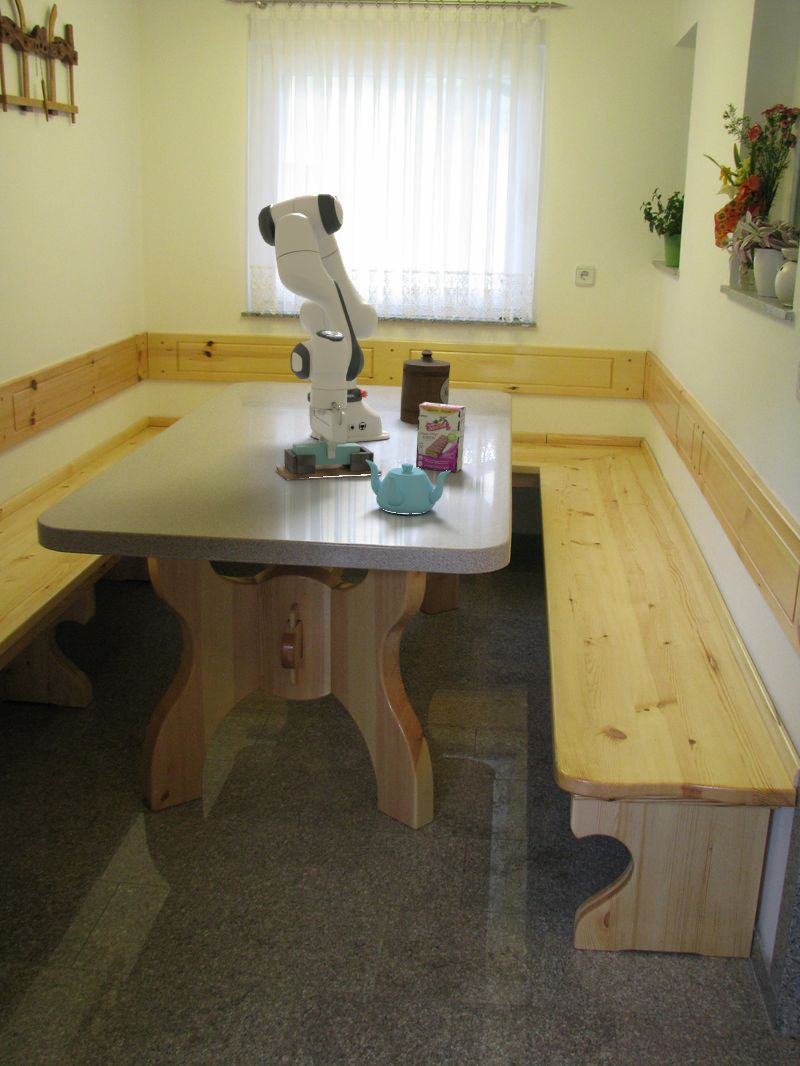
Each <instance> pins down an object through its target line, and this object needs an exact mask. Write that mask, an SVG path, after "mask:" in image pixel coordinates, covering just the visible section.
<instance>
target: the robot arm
mask: <svg viewBox="0 0 800 1066" xmlns="http://www.w3.org/2000/svg"><path fill="white" fill-rule="evenodd" d="M343 219H344V211H343V207H342V204H341V202H340V201H339V199H338V197H337V195H335V194H334V193H333V192H331V191H330V192H329V191H327V192H326V191H320V192H319V193H316V194H305V195H300V196H299V195H298V196H295V197H294V198H290V199H287V200H284V201H281V202H278V203H275V204H274V203H273V204H269V205H267V206H265V207H263V208H262V209H261V210H260V212H259V213H258V219H257V220H258V223H257V224H258V231H259V233H260V235H261V237H262V240H263V241H264V242H265V243H266V244H267V245H269V246H271V247H274V253H275V261H276V269H277V273H278V277H279V279H280V282H281V284H282V285H283V287H284V288H286V289H287V290H288V291H289V292H290V293H292V294H294V295H296V296H298V297H301V298H304V299H305V300H304V301H303V302H302V304H301V306H300V309H299V317H298V318H299V322H300V324H301V327H303V329H304V330H305V331H306V332H307V334H308V335H309V337H310V339H309V340H305V341H302V342H298V343H297V344H296V345H295V346H294V348H293V349H292V351H291V352H290V369H291V372H292V373H293V374H294V376H295V377H296V378H298V379H299V380H300V381H301V380H302V381H307V382H308V381H309V382H310V381H311V383H310V384H311V385H310V391H309V392H307V394H306V395H307V396H306V397H307V399H306V400H307V402H309V405H308V411H309V413H308V414H309V415H308V416H309V425H310V429H311V433H310V437H312V438H314V439H318V442H319V443H327V444H328V450H327V452H326V453H327V454H326V456H327V457H328V458H335V451H336V447H337V444H345V443H357V442H365V441H377V440H389V439H390V433H389V432H388V431H387V430H385V429H383V425H382V424H383V423H382V420H381V417H380V414H379V413H378V412H377V411H375V409H373V408H372V407H371V406H369V405H368V404H367V403H366V402H365V401H364V400H363V399H364V398H367V397H368V396H369V392H368V391H367V390H366V389H360V388H359V387H357V377H359V376H360V375H361V373H362V371H363V369H364V367H365V355H364V353H363V349H362V348H361V345H360V344H359V341H358V340H363V339H368V338H370V337H372V336H373V334H375V332H376V330H377V328H378V322H379V316H378V312H377V310H376V308H375V306H373V304H371V303H369V302H368V301H367V300H366V299H365V298H364V297H363V296H362V295H361V293H360V292H359V291H358V289H357V288H356V287H355V285H354V284H353V282H352V280H351V279H350V277H349V275H348V273H347V270H346V267H345V265H344V262H343V258H342V256H341V252H340V249H339V245H338V242H337V239H336V236H335V233H337V232H338V231H339V230H340V229H341V227H343V222H344V220H343Z"/></svg>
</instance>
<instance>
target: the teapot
mask: <svg viewBox="0 0 800 1066" xmlns="http://www.w3.org/2000/svg"><path fill="white" fill-rule="evenodd" d="M366 462H367V463H368V464H369V466H370V468H371V476H370V486H371V490H372V492H373V493H374V494H375V495H376V499H375V500H376V504H377V505H378V506H379V508H380V507H381V508H382V509H384V510H387V511H391V512H396V513H409V514H412V513H423V512H427V511H429V510H430V511H431V510H433V508H434V506H435V505H436V503H437V502H438V501H440V499H441V498H442V496H443V493H444V481H445V477H447V475H448V474H450V473H452V472H451V471H440V473H439V474H438V475H437V479H436V485H435V487H433V484H432V482H431V480H430V478H429V477H428V474H427V473H426V471H424V469H423V468H418V467H416V466H415V467H414V464H413V463H410V462H408V463H407V462H404V463H401V464H400V465H401V467H396V468H392V469H390V470H389V471H388V472H387V473H386V475H385V476H384V478H383V479H382V480H381V479H380V477H379V475H378V470H379V469H378V466H377V465H376V463H375V462H374V461H373V462H372V461H369V460H366ZM381 508H380V509H381ZM382 509H381V510H382ZM430 511H429V512H430ZM427 513H428V512H427Z"/></svg>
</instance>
